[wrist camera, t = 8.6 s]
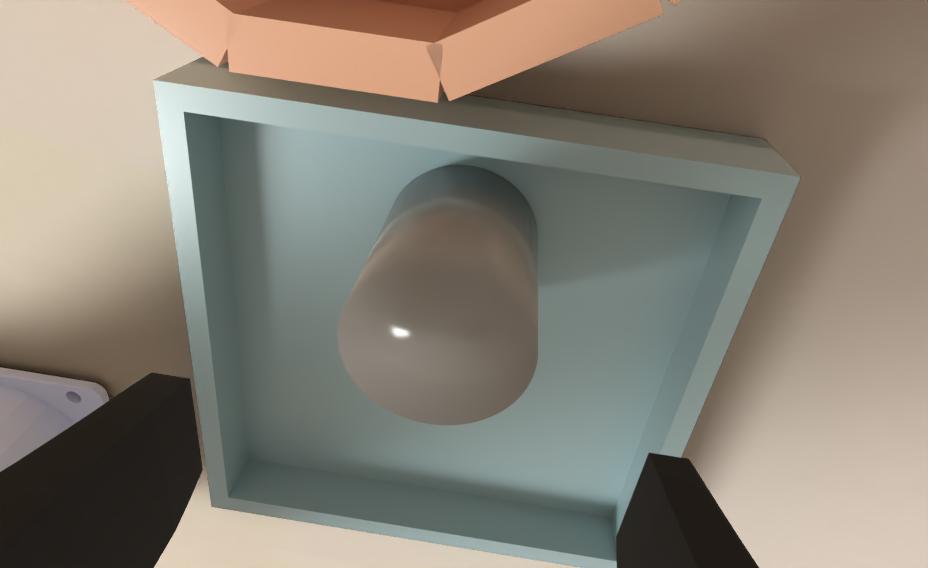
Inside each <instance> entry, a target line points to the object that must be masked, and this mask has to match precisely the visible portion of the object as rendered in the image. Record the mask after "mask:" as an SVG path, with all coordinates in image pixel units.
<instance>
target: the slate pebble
mask: <svg viewBox="0 0 928 568" xmlns="http://www.w3.org/2000/svg"><path fill="white" fill-rule="evenodd" d="M337 336H338V347H339V352H340V356H341V359H342V361H343V364H344V366H345V368H346V370H347V372H348V374H349V376H350V377H351V378H352V380H353V381H354V382H355V384H356V385H357V386H358V387H359V388H360V389H361V390H362V392H363V393H364V394H366V395H367V396H368V397H369V398H370V399H371V400H373V401H374V402H375V403H377V404H378V405H380V406H381V407H383V408H385V409H387V410H388V411H390V412H392V413H394V414H396V415H399V416H401V417H404V418H407V419H410V420H413V421H416V422H421V423H426V424H433V425H462V424H468V423H473V422H477V421H481V420H484V419H487V418H489V417H492V416H494V415H496V414H498V413H500V412H501V411H503V410H505V409H506V408H508V407H509V406H510V405H512V404H513V403H514V402H515V401H516V400H517V399H518V398H519V397H520V396H521V395H522V394H523V393H524V391H525V390H526V389H527V387H528V386H529V384H530V382H531V380H532V378H533V376H534V373H535V370H536V367H537V360H538V229H537V223H536V219H535V216H534V213H533V211H532V208H531V206H530V204H529V203H528V201H527V200H526V198H525V197H524V195H523V194H522V193H521V192H520V191H519V190H518V189H517V188H516V187H515V186H514V185H513V184H512V183H511V182H509V181H508V180H506V179H505V178H503V177H502V176H500V175H498V174H496V173H494V172H492V171H489V170H486V169H483V168H480V167H475V166H469V165H449V166H443V167H439V168H435V169H432V170H430V171H427V172H425V173H423V174H421V175H419V176H418V177H416V178H415V179H413V180H412V181H411V182H410V183H409V184H407V185H406V186H405V188H404V189H403V190H402V191H401V192H400V194H399V195H398V197H397V198H396V200H395V202H394V204H393V206H392V208H391V210H390V212H389V214H388V216H387V219H386V221H385V223H384V225H383V227H382V229H381V231H380V233H379V235H378V237H377V240H376V242H375V244H374V246H373V248H372V250H371V252H370V254H369V256H368V259H367V261H366V263H365V265H364V267H363V269H362V271H361V273H360V275H359V277H358V280H357V282H356V284H355V286H354V288H353V290H352V292H351V294H350V296H349V299H348V301H347V303H346V305H345V307H344V309H343V311H342V314H341V317H340V321H339V324H338V334H337Z"/></svg>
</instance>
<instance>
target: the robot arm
mask: <svg viewBox="0 0 928 568" xmlns="http://www.w3.org/2000/svg"><path fill="white" fill-rule="evenodd" d="M202 470H203V469H202V462H201V455H200V448H199V441H198V434H197V427H196V420H195V413H194V406H193V399H192V392H191V385H190V379H188V378H182V377H176V376H169V375H163V374H157V373H150V374H149V375H147V376H146V377H144V378H143V379H141V380H139V381H138V382H136V383H135V384H133V385H132V386H130V387H129V388H127V389H126V390H124V391H123V392H121V393H120V394H118V395H117V396H115V397H114V398H112V399H111V400H109V397H108V394H107V392H106V390H105V389H104V388H103V387H102V386H101V385H99V384H97V383H94V382H89V381H83V380H76V379H70V378H64V377H58V376H51V375H45V374H39V373H33V372H27V371H20V370H14V369H8V368H2V367H0V568H154V566H155V564H156V563H157V561H158V559H159V558H160V556H161V554H162V553H163V551H164V549H165V548H166V546H167V544H168V542H169V541H170V539H171V537H172V536H173V534H174V532H175V530H176V528H177V526H178V524H179V522H180V520H181V517H182V515H183V513H184V511H185V509H186V507H187V505H188V502H189V500H190V498H191V495H192V493H193V491H194V488H195V486H196V484H197V481H198V479H199V477H200V475H201V472H202ZM616 557H617V568H759V567H758V565H757V564H756V562H755V561H754V559H753V558H752V556H751V555H750V553H749V552H748V550H747V549H746V547H745V546H744V544H743V543H742V541H741V540H740V538H739V537H738V535H737V534H736V532H735V530H734V529H733V527H732V526H731V524H730V523H729V521H728V520H727V518H726V517H725V515H724V513H723V512H722V510H721V509H720V507H719V506H718V504H717V502H716V501H715V499H714V498H713V496H712V494H711V493H710V491H709V490H708V488H707V487H706V485H705V483H704V482H703V480H702V479H701V477H700V475H699V474H698V472H697V471H696V469H695V468H694V466H693V465H692V463H691V462H690V460H689V459H686V458H680V457H674V456H668V455H661V454H655V453H648V456H647V458H646V461H645V464H644V466H643V469H642V471H641V474H640V476H639V479H638V482H637V484H636V487H635V489H634V492H633V495H632V497H631V500H630V502H629V505H628V507H627V510H626V513H625V515H624V518H623V520H622V523H621V526H620V528H619V531H618V533H617V536H616Z"/></svg>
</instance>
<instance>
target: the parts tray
mask: <svg viewBox="0 0 928 568" xmlns="http://www.w3.org/2000/svg"><path fill="white" fill-rule="evenodd" d="M153 83H154V90H155V97H156V105H157V112H158V119H159V127H160V134H161V141H162V148H163V156H164V163H165V170H166V178H167V185H168V192H169V199H170V207H171V214H172V221H173V229H174V236H175V243H176V251H177V258H178V265H179V272H180V280H181V287H182V294H183V302H184V309H185V316H186V323H187V331H188V338H189V345H190V353H191V360H192V367H193V375H194V382H195V389H196V396H197V404H198V411H199V418H200V426H201V433H202V440H203V448H204V455H205V462H206V469H207V477H208V484H209V491H210V499H211V506H212V507H216V508H222V509H229V510H235V511H241V512H247V513H253V514H259V515H265V516H271V517H277V518H283V519H289V520H295V521H301V522H308V523H314V524H320V525H326V526H332V527H338V528H344V529H350V530H356V531H362V532H368V533H374V534H380V535H387V536H393V537H399V538H405V539H411V540H417V541H423V542H429V543H435V544H441V545H447V546H453V547H459V548H466V549H472V550H478V551H484V552H490V553H496V554H502V555H508V556H514V557H520V558H526V559H532V560H538V561H545V562H551V563H557V564H563V565H569V566H575V567H581V568H617V557H616V536H617V533H618V531H619V528H620V526H621V523H622V520H623V518H624V515H625V513H626V510H627V507H628V505H629V502H630V500H631V497H632V495H633V492H634V489H635V487H636V484H637V482H638V479H639V476H640V474H641V471H642V469H643V466H644V464H645V461H646V458H647V456H648V453H655V454H661V455H668V456H674V457H680V458H681V456H682V454H683V452H684V449H685V447H686V445H687V442H688V440H689V438H690V435H691V433H692V431H693V428H694V426H695V424H696V421H697V419H698V417H699V414H700V412H701V410H702V407H703V405H704V403H705V400H706V398H707V396H708V393H709V391H710V389H711V386H712V384H713V382H714V379H715V377H716V375H717V372H718V370H719V368H720V365H721V363H722V361H723V358H724V356H725V354H726V351H727V349H728V347H729V344H730V342H731V340H732V337H733V335H734V333H735V330H736V328H737V326H738V323H739V321H740V318H741V316H742V314H743V311H744V309H745V307H746V304H747V302H748V300H749V297H750V295H751V293H752V290H753V288H754V286H755V283H756V281H757V279H758V276H759V274H760V272H761V269H762V267H763V265H764V262H765V260H766V258H767V255H768V253H769V251H770V248H771V246H772V244H773V241H774V239H775V237H776V234H777V232H778V230H779V227H780V225H781V223H782V220H783V218H784V216H785V213H786V211H787V209H788V206H789V204H790V202H791V199H792V197H793V195H794V192H795V190H796V188H797V185H798V183H799V181H800V178H801V176H800V175H799V174H798V173H797V172H796V171H795V170H794V169H793V168H792V167H791V166H790V165H789V164H788V163H787V162H786V161H785V160H784V159H783V158H782V157H781V156H780V154H779V153H778V152H777V151H776V150H775V149H774V148H773V147H772V146H771V145H770V144H769V143H768V142H767V141H766V140H765V139H761V138H754V137H747V136H741V135H734V134H727V133H720V132H714V131H707V130H700V129H694V128H687V127H680V126H673V125H667V124H660V123H653V122H646V121H640V120H633V119H626V118H619V117H613V116H606V115H599V114H593V113H586V112H579V111H572V110H566V109H559V108H552V107H545V106H539V105H532V104H525V103H518V102H512V101H505V100H498V99H492V98H485V97H478V96H471V95H464V96H461V97H459V98H456V99H454V100H451V101H449V100H448V97H447V95H446V93H445V92H444V91H443V93H442V95H441V97H440V99H439V101H438V103H436V102H429V101H422V100H415V99H409V98H402V97H395V96H389V95H382V94H375V93H368V92H362V91H355V90H348V89H342V88H335V87H328V86H321V85H315V84H308V83H301V82H295V81H288V80H281V79H274V78H268V77H261V76H254V75H248V74H241V73H234V72H229V64H228V62H226V63H224V64H222V65H221V66H219V67H217V66H216V65H214V64H213V63H211V62H210V61H209V60H207V59H206V58H204V57H202V58H199V59H197V60H195V61H193V62H191V63H189V64H187V65H184V66H182V67H180V68H178V69H176V70H174V71H172V72H169V73H167V74H165V75H163V76H161V77H159V78H157V79H154V80H153ZM449 165H469V166H475V167H480V168H483V169H486V170H489V171H492V172H494V173H496V174H498V175H500V176H502V177H503V178H505V179H506V180H508V181H509V182H511V183H512V184H513V185H514V186H515V187H516V188H517V189H518V190H519V191H520V192H521V193H522V194H523V195H524V197H525V198H526V200H527V201H528V203H529V204H530V206H531V208H532V211H533V213H534V216H535V219H536V223H537V229H538V360H537V367H536V370H535V373H534V376H533V378H532V380H531V382H530V384H529V386H528V387H527V389H526V390H525V391H524V393H523V394H522V395H521V396H520V397H519V398H518V399H517V400H516V401H515V402H514V403H513V404H512V405H510V406H509V407H508V408H506V409H505V410H503V411H501V412H500V413H498V414H496V415H494V416H492V417H489V418H487V419H484V420H481V421H477V422H473V423H468V424H462V425H433V424H426V423H421V422H416V421H413V420H410V419H407V418H404V417H401V416H399V415H396V414H394V413H392V412H390V411H388V410H387V409H385V408H383V407H381V406H380V405H378V404H377V403H375V402H374V401H373V400H371V399H370V398H369V397H368V396H367V395H366V394H364V393H363V392H362V390H361V389H360V388H359V387H358V386H357V385H356V384H355V382H354V381H353V380H352V378H351V377H350V376H349V374H348V372H347V370H346V368H345V366H344V364H343V361H342V359H341V356H340V352H339V347H338V336H337V334H338V324H339V321H340V317H341V314H342V311H343V309H344V307H345V305H346V303H347V301H348V299H349V296H350V294H351V292H352V290H353V288H354V286H355V284H356V282H357V280H358V277H359V275H360V273H361V271H362V269H363V267H364V265H365V263H366V261H367V259H368V256H369V254H370V252H371V250H372V248H373V246H374V244H375V242H376V240H377V237H378V235H379V233H380V231H381V229H382V227H383V225H384V223H385V221H386V219H387V216H388V214H389V212H390V210H391V208H392V206H393V204H394V202H395V200H396V198H397V197H398V195H399V194H400V192H401V191H402V190H403V189H404V188H405V186H406V185H407V184H409V183H410V182H411V181H412V180H413V179H415V178H416V177H418V176H419V175H421V174H423V173H425V172H427V171H430V170H432V169H435V168H439V167H443V166H449Z"/></svg>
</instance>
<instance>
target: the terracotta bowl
mask: <svg viewBox="0 0 928 568" xmlns="http://www.w3.org/2000/svg"><path fill="white" fill-rule="evenodd" d="M125 1H126V2H128V3H129V4H130V5H132V6H133V7H135V8H136V9H137V10H139V11H140V12H142V13H143V14H144V15H146V16H147V17H149V18H150V19H151V20H153V21H154V22H156V23H157V24H158V25H160V26H161V27H163V28H164V29H165V30H167V31H168V32H170V33H171V34H172V35H174V36H175V37H177V38H178V39H179V40H181V41H182V42H184V43H185V44H186V45H188V46H189V47H191V48H192V49H193V50H195V51H196V52H198V53H199V54H200V55H202V56H203V57H204V58H206V59H207V60H209V61H210V62H211V63H213V64H214V65H216V66H217V67H219V66H221V65H222V64H224V63H226V62H228V64H229V72H234V73H241V74H248V75H254V76H261V77H268V78H274V79H281V80H288V81H295V82H301V83H308V84H315V85H321V86H328V87H335V88H342V89H348V90H355V91H362V92H368V93H375V94H382V95H389V96H395V97H402V98H409V99H415V100H422V101H429V102H436V103H438V101H439V99H440V97H441V95H442V93H443V91H444V90H445V93H446V95H447V97H448V100H449V101H451V100H454V99H456V98H459V97H461V96H464V95H466V94H469V93H471V92H474V91H476V90H478V89H481V88H483V87H486V86H488V85H491V84H493V83H496V82H498V81H501V80H503V79H506V78H508V77H510V76H513V75H515V74H518V73H520V72H523V71H525V70H528V69H530V68H533V67H535V66H537V65H540V64H542V63H545V62H547V61H550V60H552V59H555V58H557V57H560V56H562V55H564V54H567V53H569V52H572V51H574V50H577V49H579V48H582V47H584V46H587V45H589V44H591V43H594V42H596V41H599V40H601V39H604V38H606V37H609V36H611V35H614V34H616V33H618V32H621V31H623V30H626V29H628V28H631V27H633V26H636V25H638V24H641V23H643V22H645V21H648V20H650V19H653V18H655V17H658V16H660V15H663V10H662V6H661V2H660V0H125ZM669 1H670V2H671V3H673V4H674V5H676V4H677V3H678V2H679V1H680V0H669Z"/></svg>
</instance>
